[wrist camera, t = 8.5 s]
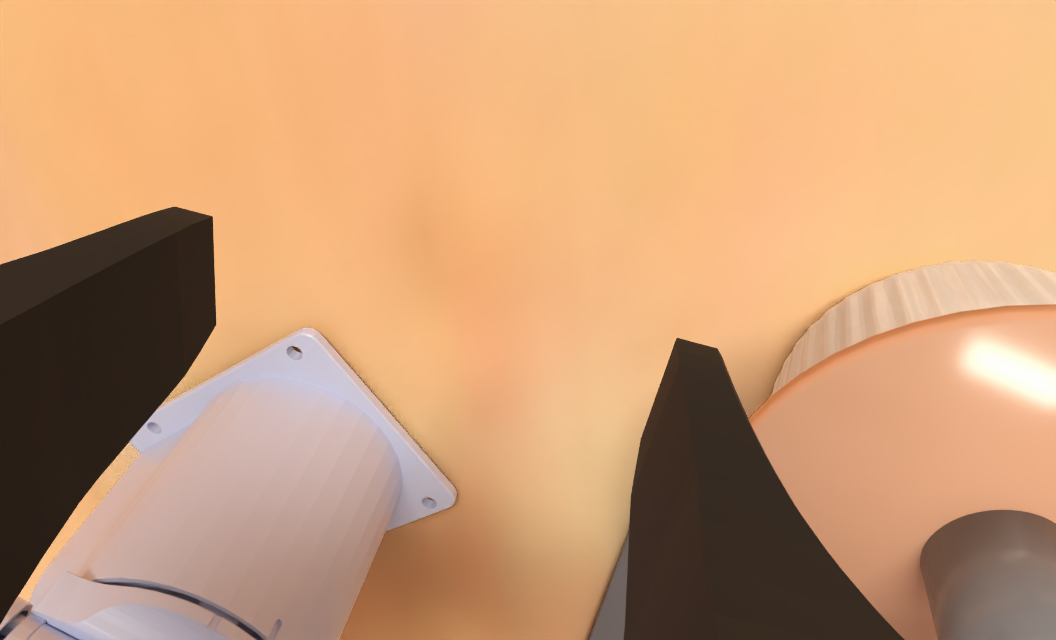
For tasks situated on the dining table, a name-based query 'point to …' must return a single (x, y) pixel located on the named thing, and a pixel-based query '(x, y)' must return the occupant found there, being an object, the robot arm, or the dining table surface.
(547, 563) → the dining table surface
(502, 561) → the dining table surface
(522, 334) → the dining table surface
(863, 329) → the ramekin
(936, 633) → the lid
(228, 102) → the dining table surface
